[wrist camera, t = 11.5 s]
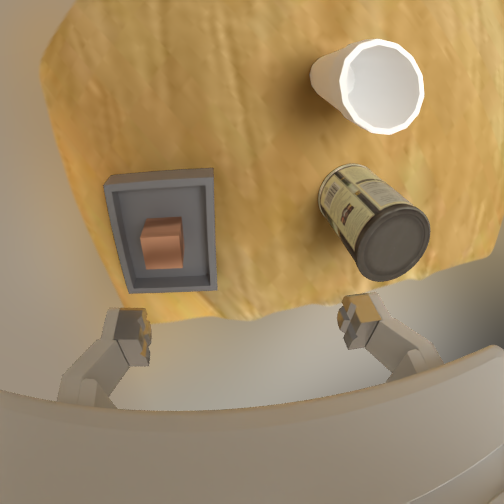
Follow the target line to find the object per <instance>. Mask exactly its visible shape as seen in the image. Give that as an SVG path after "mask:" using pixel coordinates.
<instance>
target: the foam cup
mask: <svg viewBox="0 0 504 504" xmlns="http://www.w3.org/2000/svg"><path fill="white" fill-rule="evenodd" d="M309 76H310V81H311V86H312V87H313V88H314V90H315V91H316V92H317V94H318V95H319V96H321V97H322V98H323V99H325V100H326V101H327V102H329V103H330V104H331V105H333V106H334V107H335V108H336V109H338V110H339V111H340V112H341V113H342V114H343V116H344V117H345V118H347V119H348V120H350V121H351V122H353V123H355V124H356V125H358V126H359V127H361V128H363V129H365V130H367V131H369V132H371V133H378V134H388V135H391V134H393V133H396V132H398V131H400V130H403V129H405V128H407V127H408V126H409V125H410V123H411V122H412V121H413V120H414V119H415V118H416V116H417V115H418V114H419V111H420V108H421V105H422V101H423V98H424V86H423V76H422V73H421V71H420V69H419V67H418V65H417V63H416V62H415V60H414V58H413V56H412V55H410V54H409V53H408V52H407V51H406V50H404V49H403V48H402V47H401V46H400V45H398V44H397V43H393V42H389V41H385V40H381V39H366V40H362V41H359V42H355V43H352V44H349V45H347V46H346V47H345V48H343V49H341V50H338V51H335V52H333V53H330V54H328V55H325V56H323V57H320V58H319V59H318V60H317V61H316V62H315V63H314V64H313V65H312V67H311V71H310V75H309Z"/></svg>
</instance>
